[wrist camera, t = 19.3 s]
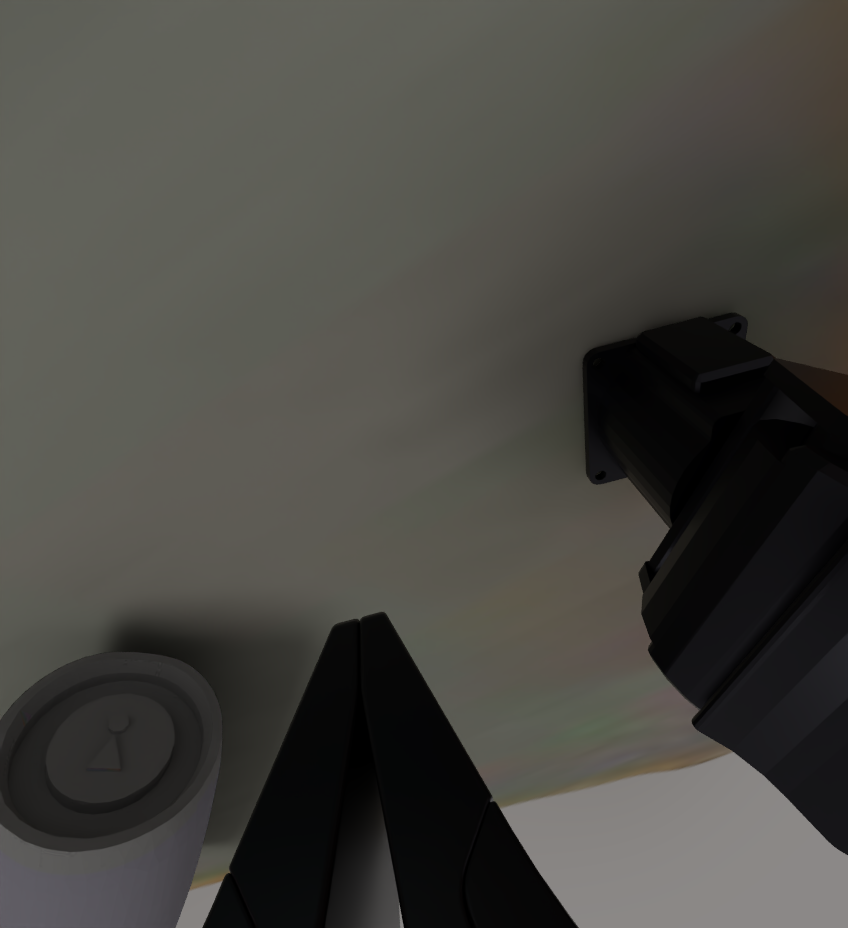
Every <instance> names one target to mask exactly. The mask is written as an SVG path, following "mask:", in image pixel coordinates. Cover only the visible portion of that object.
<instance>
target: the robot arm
mask: <svg viewBox="0 0 848 928" xmlns="http://www.w3.org/2000/svg"><path fill="white" fill-rule="evenodd" d="M734 323H735V325H734V327H733V328H732V329H731V330H730V331H729V329H730V327H731V325H732V324H734ZM747 326H748V323H747V320H746V318H745V317H743V316H741V315H739V314H737V313H729V314H725V315H721V316H717V317H713V318H710V319H706V318H704V317H698V318H694V319H691V320H687V321H683V322H679V323H675V324H671V325H667V326H664V327H660V328H656V329H652V330H648V331H644V332H642V333H641V334H640V335H638V336H637V337H636V338H633V339H629V340H625V341H621V342H617V343H614V344H610V345H606V346H602V347H598V348H594V349H592V350H590V351H589V352H588V353H587V354H586V355H585V357H584V358H583V392H584V421H585V450H586V474H587V477H588V478H589V480H590V481H591V482H592V483H593V484H596V485H598V484H604V483H607V482H611V481H615V480H619V479H622V478H626V477H628V478H629V480H630V481H631V482H632V483H633V485H634V486H635V487H636V488H637V489H638V491H639V492H640V493H641V494H642V495H643V497H644V498H645V499H646V500H647V502H648V503H649V504H650V505H651V506H652V508H653V509H654V510H655V511H656V512H657V514H658V515H659V516H660V517H661V519H662V520H663V521H664V522H665V523H666V525H667V526H668V527H669V528H670V530H669V531H668V533H667V534H666V536H665V537H664V539H663V541H662V542H661V544H660V545H659V547H658V548H657V550H656V552H655V553H654V555H653V556H652V558H651V559H650V561H646V562H645V563H644V565H643V567H642V568H641V570H640V571H639V578H640V582H641V586H642V590H643V596H642V611H641V614H642V617H643V620H644V623H645V626H646V628H647V631H648V634H649V637H650V639H651V641H652V642H651V643H650V645H649V647H648V651H649V654H650V656H651V657H652V659H653V661H654V662H655V663H656V665H657V666H658V668H659V669H660V670H661V672H662V673H663V675H664V676H665V677H666V679H667V680H668V681H669V682H670V683H671V684H672V685H673V686H674V687H675V688H676V689H677V690H678V691H679V693H680V694H681V695H682V696H683V697H684V698H685V699H686V700H687V701H689V702H690V703H691V704H692V705H693V706H695V707H696V708H697V709H698V710H699V712H698V713H697V714H696V715H695V716H694V717H693V719H692V724H693V726H694V727H695V728H696V729H697V730H698V731H699V732H701V733H703V734H704V735H706V736H708V737H710V738H711V739H713V740H715V741H716V742H718V743H720V744H722V745H723V746H725V747H727V748H728V749H730V750H732V751H733V752H735V753H736V754H737V755H738V756H740V757H741V758H742V759H743V760H745V761H746V762H747V763H749V764H750V765H751V766H752V767H754V768H755V769H756V770H757V771H759V772H760V773H761V774H763V775H764V776H765V777H766V778H767V779H768V780H769V781H770V782H771V783H772V784H773V785H774V786H775V787H776V788H777V789H778V790H779V791H780V792H781V793H782V794H784V796H785V797H786V798H787V799H788V800H789V801H790V802H791V803H792V804H793V805H794V806H795V807H796V808H797V809H798V810H799V811H800V812H801V813H802V814H803V815H804V816H805V817H806V819H807V820H808V821H809V822H810V823H811V824H812V825H813V826H814V827H815V828H816V829H817V830H818V831H819V832H820V833H821V834H822V835H823V836H824V837H825V838H826V840H828V842H830V843H831V844H832V845H833V846H834V847H836V848H837V849H838V850H840V851H842V852H843V853H845V854H847V855H848V375H845V374H841V373H837V372H833V371H828V370H824V369H820V368H816V367H811V366H807V365H803V364H798V363H794V362H790V361H786V360H781V359H777V358H775V357H774V356H773V355H771V354H770V353H768V352H766V351H764V350H763V349H761V348H759V347H757V346H755V345H754V344H752V343H750V342H748V341H746V340H745V339H746V333H747ZM598 358H601V361H600V363H599V364H598V365H596V366H593V363H594V361H595V360H596V359H598ZM599 471H602V472H601V473H600V474H598V475H596V474H597V473H598V472H599ZM229 870H230V873H231V874H230V873H228V874H226V875H225V877H224V879H223V882H222V884H221V887H220V889H219V891H218V894H217V896H216V898H215V901H214V903H213V905H212V908H211V910H210V912H209V915H208V917H207V919H206V921H205V923H204V925H203V928H400V916H399V903H400V909H401V914H402V920H403V924H404V928H578V926H577V925H576V924H575V922H574V921H573V920H572V918H571V917H570V916H569V914H568V913H567V911H566V910H565V909H564V907H563V906H562V904H561V903H560V902H559V900H558V899H557V897H556V896H555V895H554V893H553V892H552V890H551V889H550V887H549V886H548V884H547V883H546V882H545V880H544V879H543V878H542V876H541V875H540V873H539V872H538V870H537V869H536V867H535V866H534V864H533V862H532V861H531V859H530V858H529V856H528V855H527V853H526V851H525V850H524V848H523V846H522V845H521V843H520V842H519V840H518V838H517V837H516V835H515V834H514V832H513V830H512V829H511V827H510V825H509V824H508V822H507V820H506V818H505V817H504V815H503V813H502V811H501V810H500V808H499V806H498V805H497V803H496V802H495V801H493V797H492V795H491V793H490V791H489V790H488V788H487V786H486V785H485V783H484V781H483V779H482V778H481V776H480V774H479V772H478V771H477V769H476V767H475V766H474V764H473V762H472V760H471V759H470V757H469V755H468V754H467V752H466V750H465V748H464V747H463V745H462V743H461V742H460V740H459V738H458V736H457V735H456V733H455V731H454V730H453V728H452V726H451V724H450V723H449V721H448V719H447V717H446V716H445V714H444V712H443V711H442V709H441V707H440V705H439V704H438V702H437V700H436V699H435V697H434V695H433V693H432V692H431V690H430V688H429V687H428V685H427V683H426V681H425V680H424V678H423V676H422V675H421V673H420V671H419V669H418V668H417V666H416V664H415V663H414V661H413V659H412V657H411V656H410V654H409V652H408V650H407V649H406V647H405V645H404V644H403V642H402V640H401V638H400V637H399V635H398V633H397V632H396V630H395V628H394V626H393V625H392V623H391V621H390V620H389V618H388V616H387V615H386V613H384V612H379V613H375V614H371V615H367V616H364V617H362V618H361V620H360V621H359V620H358V619H352V620H349V621H345V622H341V623H338V624H335V625H334V626H333V628H332V629H331V631H330V634H329V636H328V638H327V641H326V643H325V645H324V648H323V650H322V652H321V655H320V657H319V659H318V662H317V664H316V666H315V669H314V671H313V673H312V676H311V678H310V680H309V683H308V685H307V687H306V690H305V692H304V694H303V696H302V699H301V701H300V703H299V706H298V708H297V710H296V713H295V715H294V717H293V720H292V722H291V724H290V727H289V729H288V731H287V734H286V736H285V738H284V741H283V743H282V745H281V748H280V750H279V752H278V755H277V757H276V759H275V762H274V764H273V766H272V769H271V771H270V773H269V776H268V778H267V780H266V783H265V785H264V787H263V789H262V792H261V794H260V796H259V799H258V801H257V803H256V806H255V808H254V810H253V813H252V815H251V817H250V820H249V822H248V824H247V827H246V829H245V831H244V834H243V836H242V838H241V841H240V843H239V845H238V848H237V850H236V852H235V855H234V857H233V859H232V862H231V864H230V866H229Z"/></svg>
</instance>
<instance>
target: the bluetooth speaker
mask: <svg viewBox="0 0 848 928" xmlns="http://www.w3.org/2000/svg"><path fill="white" fill-rule="evenodd" d="M221 751H222V713H221V709H220V705H219V702H218V700H217V697H216V695H215V693H214V691H213V689H212V688H211V686H210V684H209V683H208V682H207V681H206V679H205V678H204V677H203V676H202V675H201V674H200V673H199V672H198V671H196V670H195V669H194V668H192V667H191V666H190V665H188V664H186V663H184V662H182V661H180V660H178V659H175V658H171V657H167V656H162V655H156V654H150V653H140V652H107V653H100V654H96V655H92V656H88V657H84V658H81V659H79V660H76V661H74V662H71V663H69V664H66V665H64V666H62V667H61V668H59V669H57V670H55V671H53V672H52V673H50V674H48V675H47V676H45V677H44V678H42V679H41V680H39V681H38V682H37V683H35V684H34V685H33V686H32V687H30V688H29V689H28V690H27V691H25V692H24V693H23V694H22V695H21V696H20V697H19V698H18V699H17V700H16V701H15V702H14V703H13V705H12V706H11V707H10V708H9V709H8V711H7V712H6V713H5V714H4V716H3V717H2V719H1V721H0V928H175V927H176V925H177V922H178V919H179V917H180V914H181V911H182V908H183V906H184V903H185V900H186V898H187V895H188V892H189V889H190V886H191V883H192V880H193V876H194V873H195V870H196V866H197V863H198V860H199V856H200V853H201V849H202V845H203V841H204V837H205V833H206V830H207V826H208V822H209V817H210V813H211V808H212V803H213V799H214V794H215V790H216V785H217V780H218V775H219V769H220V764H221Z"/></svg>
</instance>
